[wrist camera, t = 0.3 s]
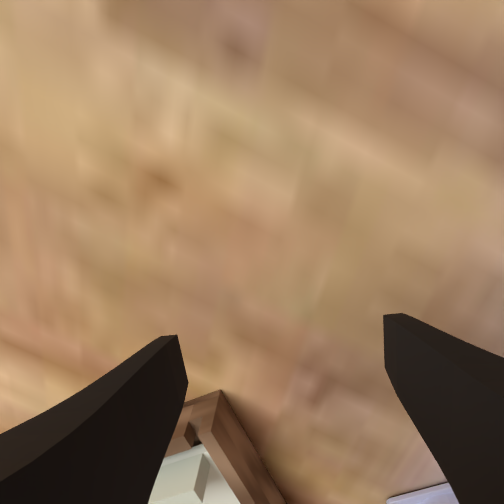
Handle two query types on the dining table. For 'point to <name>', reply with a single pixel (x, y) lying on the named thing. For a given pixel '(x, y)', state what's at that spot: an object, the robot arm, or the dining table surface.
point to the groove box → (225, 448)
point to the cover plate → (191, 480)
